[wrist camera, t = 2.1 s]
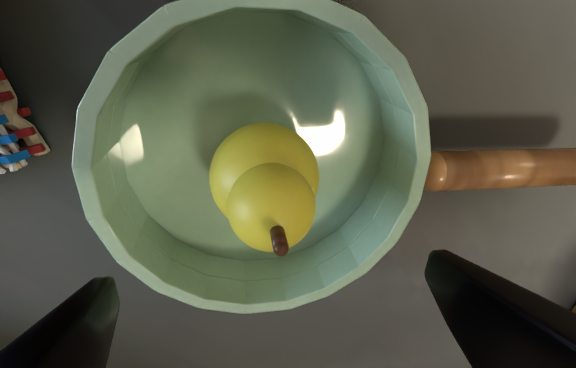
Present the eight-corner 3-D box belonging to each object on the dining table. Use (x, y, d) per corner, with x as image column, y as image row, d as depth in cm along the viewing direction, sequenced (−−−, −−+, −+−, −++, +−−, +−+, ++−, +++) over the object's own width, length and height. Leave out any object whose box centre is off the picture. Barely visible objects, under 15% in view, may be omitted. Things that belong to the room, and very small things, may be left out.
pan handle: (588, 173, 19) (625, 189, 17) (401, 181, 17) (421, 199, 16) (604, 141, 18) (644, 154, 17) (409, 146, 16) (431, 160, 15)
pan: (369, 253, 22) (397, 299, 18) (137, 270, 20) (116, 328, 16) (413, 3, 16) (471, -4, 12) (75, -15, 13) (14, -31, 9)
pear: (303, 196, 19) (350, 304, 11) (215, 200, 18) (205, 319, 11) (309, 109, 16) (370, 176, 9) (208, 110, 16) (190, 183, 8)
